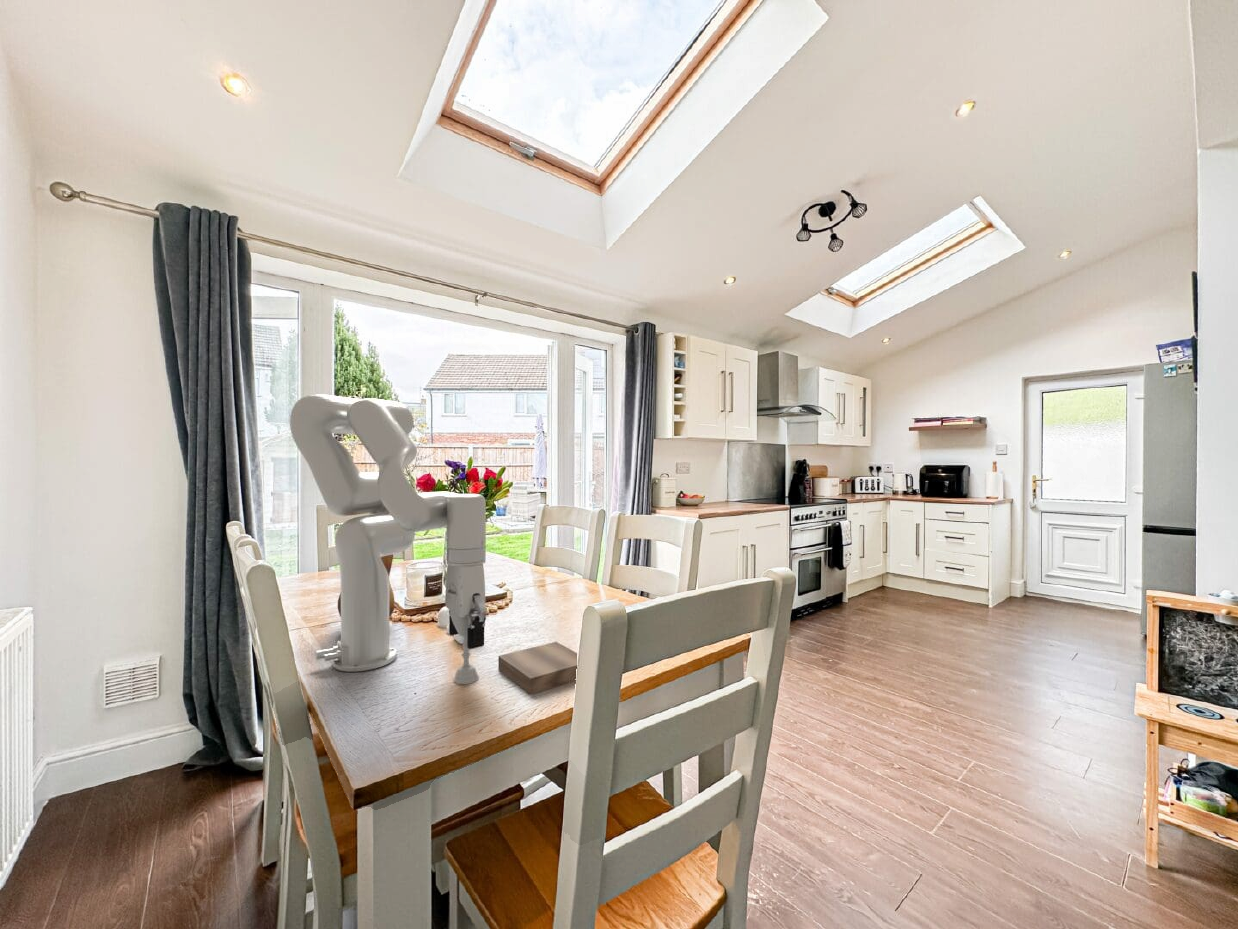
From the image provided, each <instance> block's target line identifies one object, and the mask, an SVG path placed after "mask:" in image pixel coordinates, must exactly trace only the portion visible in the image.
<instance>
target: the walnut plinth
mask: <svg viewBox="0 0 1238 929" xmlns="http://www.w3.org/2000/svg"><path fill="white" fill-rule="evenodd" d="M497 659H498V660H497V661H498V664H497V665H498V671H499V672H500V673H501V674H502V675H505V677H507V678H508V679H509V680H511V681H513V682H514V683H515V684H516V685H517V686H519V687H520V688H522V689H523V690H524V691H525V692H526V693H527V694H529V695H533V694H536V693H540V692H543V691H547V690H550V689H553V688H556V687H557V686H562V685H565V684H568V683H571V682H575V681H576V680H575V679H576V669H577V652H576V651H574V650H572V649H571V648H569V647H567V646H565V645H563V644H561V643H559V642H558V641H553V642H549V643H546V644H541V645H537V646H533V647H528V648H525V649H520V650H516V651H512V652H509V653H504V654H500V655H498V658H497Z"/></svg>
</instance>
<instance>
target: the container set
mask: <svg viewBox="0 0 1238 929" xmlns="http://www.w3.org/2000/svg"><path fill="white" fill-rule="evenodd" d="M449 616H450V615H449V609H448V608H447V607H446V605H444V606H443V607H442V608H440V609H439V611H438V614H437V619H438V620H437V626H438V627H441V628H446V634H448V635H450V634H449ZM453 639H454V641H456V642H457V643H458V644H460V645H463V642H464V638H463V636H460V635H459V634H456V635H453Z"/></svg>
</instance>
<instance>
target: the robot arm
mask: <svg viewBox="0 0 1238 929" xmlns="http://www.w3.org/2000/svg"><path fill="white" fill-rule="evenodd" d="M414 423H415V422H414V416H413V414H412V411H411V410H410V408H408V407H407V406H406V405H405V404H403V403H401V402H397V401H392V400H387V399H386V400H385V399H379V398H361V399H360V398H352V397H345V396H337V395H330V394H311V395H306V396H303V397H301V398H299V399H297V401H296V402H295V403H294V405H293V406H292V409H291V413H290V417H289V426H290V431H291V436H292V440H293V441H294V443H295V446H296V448H297V449H298V450H299V452H300V454H301V455H302V457H303V458H304V460H305V461H306V463H307V465H308V467H309V469H310V471H311V473H312V476H313V478H314V480H315V483H316V485H317V487H318V489H319V492H320V494H321V496H322V498H323V501H324V503H325V504H326V506H327V509H328V510H329V511H330V512H331V513H332V514H333V515H336V516H340V517H341V516H343V517H347V516H357V515H362V516H357V517H353V518H351V519H348V520H346V521H344V522H343V523H342V524H340V526H339V527H338V529H337V531H336V533H335V538H334V542H335V544H334V546H335V549H336V554H337V558H338V564H339V572H340V573H339V574H340V575H339V576H340V577H339V578H340V592H341V617H340V640H338V641H336V645H332V648H324V649H323V648H322V649H318V650H315V656H314V657H315V661H320V660H323V661H324V662H328V661H332V667H333V668H334V669H335V670H338V671H341V672H346V673H347V672H364V671H370V670H374V669H377V668H382V667H384V666H387V665H389V664H391V663H393V662H394V660H396V658H397V656H398V650H397V649H396V648H394V647H393V646H390V617H389V581H390V575H389V576H388V572H387V570H386V568H385V566H384V564H383V562H382V560H381V557H383V556H387V555H391V554H393V555H395V554H399V553H402V552H404V551H407V550H408V549H409V548H410V547H411V546H412V545H413V543H414V541H415V537H416V533H419V532H425V531H429V530H434V529H441V528H446V564H447V568H446V575H445V576H446V578H445V595H444V596H445V597H444V598H445V599H444V600H445V601H444V604H445V605H444V606H446V607H447V608H448V609H449V615H450V595H449V593H448V590H449V591H450V593H451V594H457V596H456V597H455V614H457V615H458V616H460V617H465V615H466V616H467V620H468V623H469V627H470V628H467V647H468V648H469V649H468V650H473V649H477V648H482V647H483V646H484V645H485V626H486V620H487V618H486V615H487V611H488V607H487V606H486V583H485V582H486V579H485V569H484V564H485V563H486V562H487V560H486V553H487V552H486V551H487V550H486V549H487V548H486V547H487V546H486V543H487V542H486V540H487V539H486V537H487V536H486V535H487V534H486V533H487V530H486V529H487V526H486V525H487V523H486V521H487V518H486V516H487V515H486V513H487V512H486V510H487V507H486V506H487V504H486V502H487V501H486V498H485V497H484V496H483V495H482V494H479V493H478V494H477V493H456V492H450V491H447V490H446V491H445V490H443V491H430V492H429V491H428V492H417V491H416V490H415V488H414V487H413V486H412V485H411V482H410V481H409V480H408V478H407V476H406V474H405V472H404V469H406V468H407V467H408V466H409V465H411V464H412V462H414V460H415V459H416V457H417V453H418V450H417V446H416V444H415V443H414V442H413V441H412V439H411V438H410V437H409V434H411V432H412V431H413V427H414ZM333 434H336V435H355V436H356V437H357V438H358V440H359V441H360V443H361V444H362V445H363V447H364V448H365V450H366V452H367V453H368V454H369V456H370V457H371V459H372V460H373V461H374V462H375V464H376V466H377V467H378V472H372V471H370V472H368V471H367V472H362V471H360V469H358V467H357V465H356V463H355V462H354V459H353V457H352V455H351V454H350V453H351V452H349V450H348V449H347V448H346V447H345V445H343V444H342V443H341V442H340V441H339V440H338V439H336V438H335V436H334V435H333ZM364 514H365V515H364ZM366 514H368V515H366ZM471 610H477V611H472V612H470V611H471ZM473 616H476V617H475V619H474V621H473V619H472V617H473ZM456 634H458V632H457V630H456V628H455V626H454V624H453V621H452V619H451V616H449V634H448V635H451V636H454V635H456Z"/></svg>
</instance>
